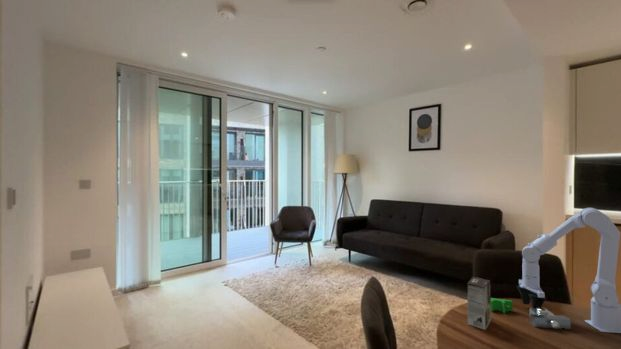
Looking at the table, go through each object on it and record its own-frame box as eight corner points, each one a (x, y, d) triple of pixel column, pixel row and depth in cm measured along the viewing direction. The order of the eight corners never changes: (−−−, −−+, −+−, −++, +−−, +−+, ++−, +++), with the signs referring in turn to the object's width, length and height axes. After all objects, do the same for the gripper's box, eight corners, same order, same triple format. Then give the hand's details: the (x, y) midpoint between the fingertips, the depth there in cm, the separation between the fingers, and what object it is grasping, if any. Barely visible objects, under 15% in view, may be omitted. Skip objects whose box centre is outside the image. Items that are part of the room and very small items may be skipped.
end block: (565, 325, 110) (565, 315, 110) (574, 331, 106) (574, 322, 106) (530, 323, 112) (530, 314, 112) (537, 329, 108) (537, 320, 108)
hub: (546, 317, 117) (545, 305, 117) (556, 325, 111) (556, 312, 111) (529, 316, 118) (529, 305, 118) (538, 324, 112) (538, 312, 112)
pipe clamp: (482, 310, 123) (482, 300, 123) (481, 307, 127) (481, 296, 127) (514, 315, 119) (514, 303, 119) (512, 311, 122) (511, 300, 122)
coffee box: (473, 315, 119) (472, 276, 119) (491, 321, 114) (491, 279, 114) (467, 324, 112) (466, 282, 112) (486, 330, 108) (485, 286, 108)
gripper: (511, 269, 129) (511, 299, 129) (530, 281, 115) (530, 315, 115) (528, 269, 128) (529, 300, 128) (550, 282, 114) (550, 316, 114)
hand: (531, 307), depth 122 cm, fingers open, 7 cm apart
